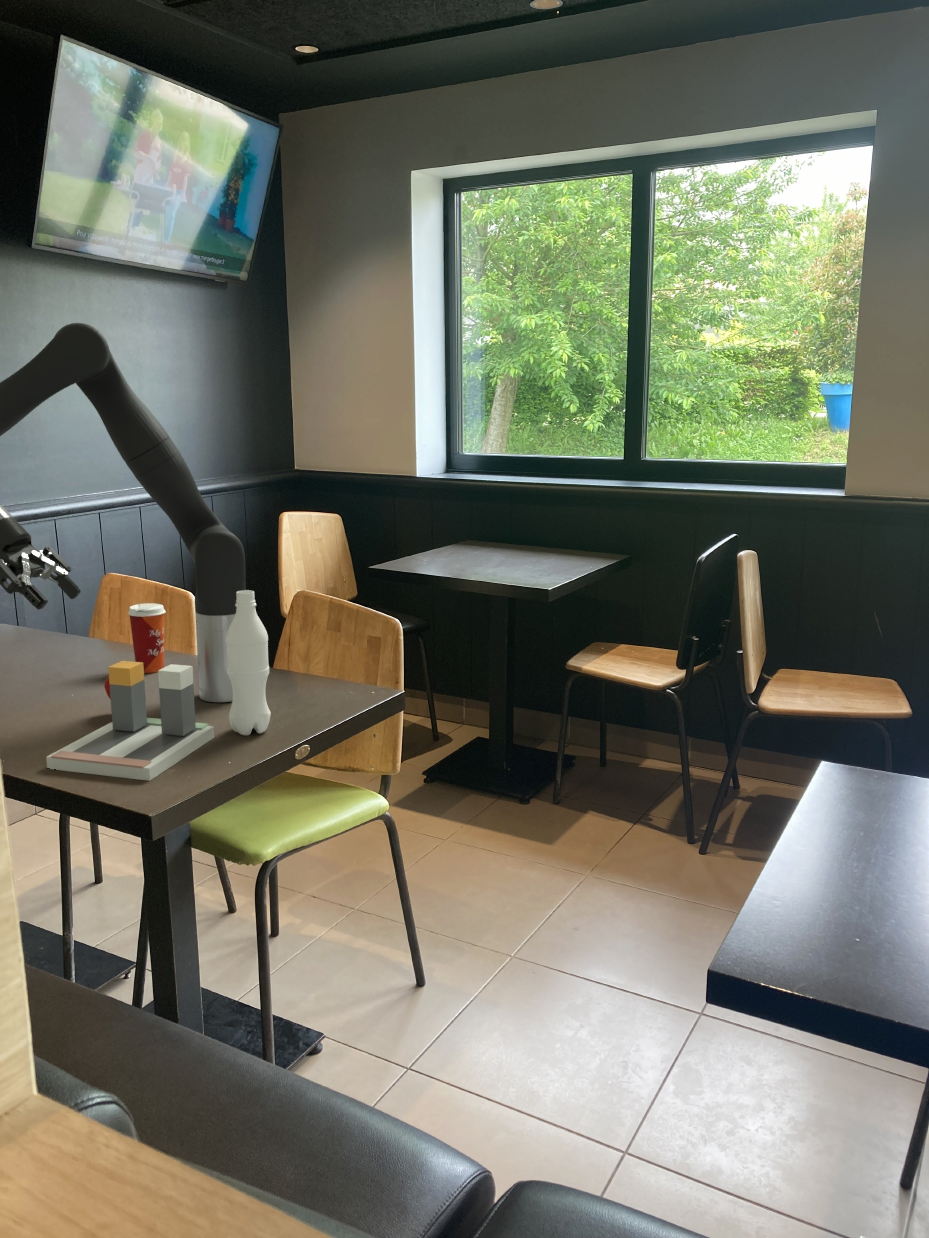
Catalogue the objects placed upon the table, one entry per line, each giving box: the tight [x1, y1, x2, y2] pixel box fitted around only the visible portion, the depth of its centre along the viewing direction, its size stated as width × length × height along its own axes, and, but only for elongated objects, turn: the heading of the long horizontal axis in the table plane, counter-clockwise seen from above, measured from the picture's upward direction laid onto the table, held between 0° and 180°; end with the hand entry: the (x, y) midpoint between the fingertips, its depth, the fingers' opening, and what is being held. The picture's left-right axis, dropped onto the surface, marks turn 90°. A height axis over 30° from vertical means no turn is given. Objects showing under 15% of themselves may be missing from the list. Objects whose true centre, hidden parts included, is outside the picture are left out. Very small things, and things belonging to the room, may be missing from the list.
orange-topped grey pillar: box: [107, 660, 148, 732], centre depth 158 cm, size 4×4×11 cm
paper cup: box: [127, 602, 167, 674], centre depth 200 cm, size 8×8×14 cm
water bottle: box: [226, 589, 272, 736], centre depth 162 cm, size 7×7×25 cm
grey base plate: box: [46, 663, 215, 782], centre depth 152 cm, size 20×18×13 cm
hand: (60, 600), depth 157 cm, fingers open, 8 cm apart
